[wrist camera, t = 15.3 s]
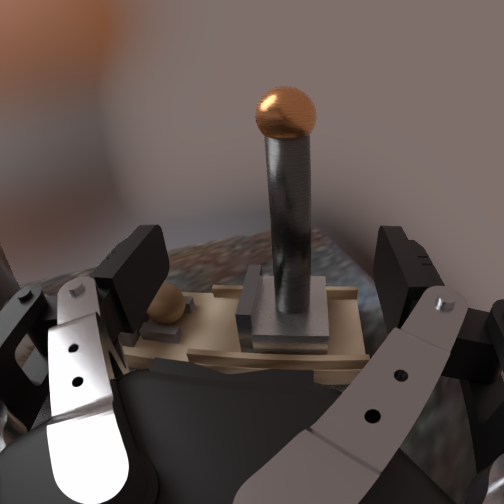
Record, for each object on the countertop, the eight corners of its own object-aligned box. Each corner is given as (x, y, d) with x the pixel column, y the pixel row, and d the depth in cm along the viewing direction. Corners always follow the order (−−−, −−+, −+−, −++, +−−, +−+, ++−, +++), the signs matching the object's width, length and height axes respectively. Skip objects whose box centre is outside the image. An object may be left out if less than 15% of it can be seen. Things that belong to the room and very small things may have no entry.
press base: (111, 363, 28) (84, 311, 25) (147, 303, 37) (131, 253, 33) (363, 383, 24) (378, 326, 21) (353, 309, 33) (360, 254, 29)
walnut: (154, 337, 28) (142, 305, 26) (147, 313, 31) (136, 282, 29) (193, 325, 29) (185, 292, 27) (183, 302, 33) (175, 270, 31)
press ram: (240, 356, 26) (202, 93, 16) (253, 298, 32) (232, 89, 22) (326, 359, 24) (337, 86, 14) (323, 299, 31) (325, 85, 21)
